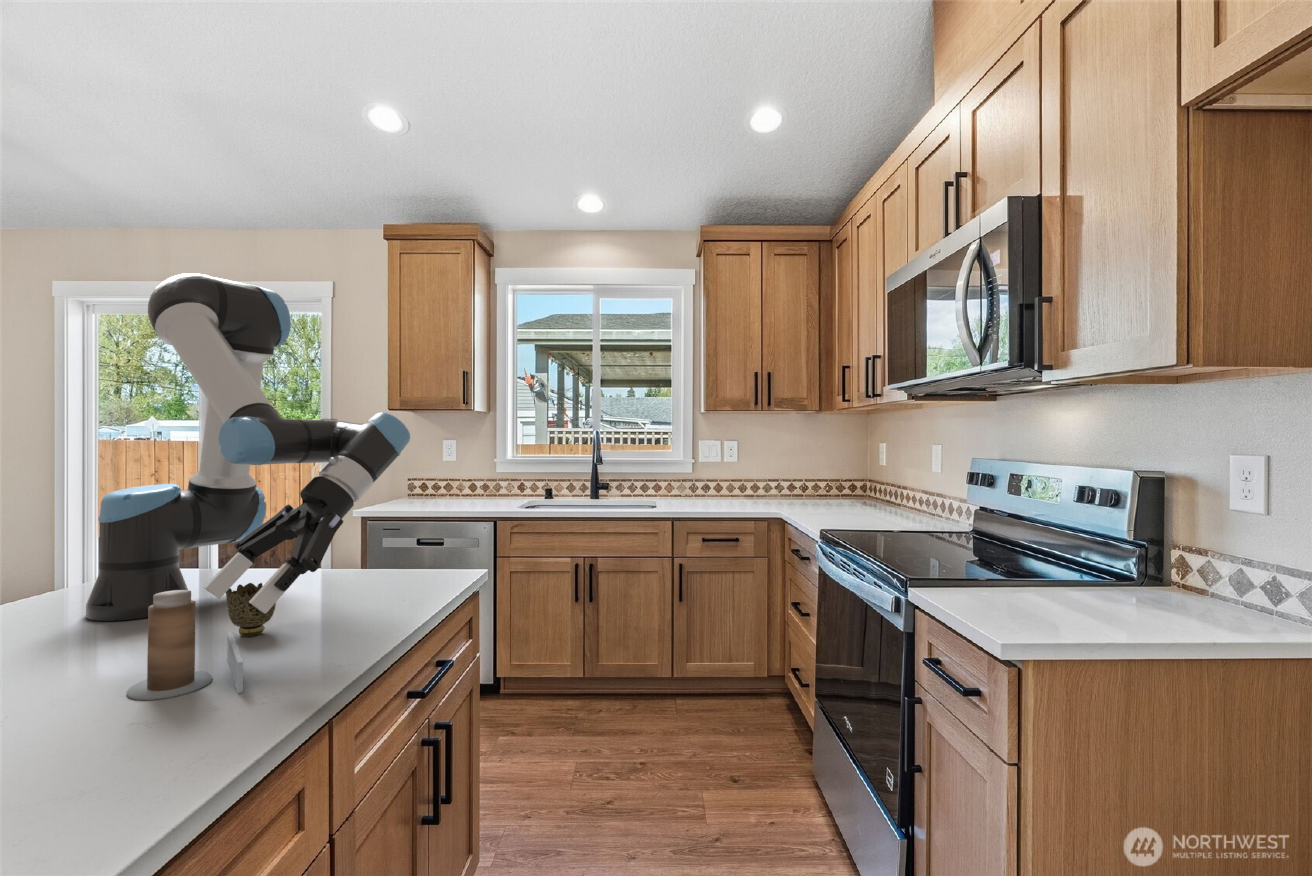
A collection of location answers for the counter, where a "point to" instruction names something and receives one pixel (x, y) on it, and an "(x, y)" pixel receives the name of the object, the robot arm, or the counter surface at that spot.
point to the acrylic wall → (235, 662)
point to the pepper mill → (171, 641)
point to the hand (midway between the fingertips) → (233, 600)
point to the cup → (247, 610)
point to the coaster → (142, 693)
